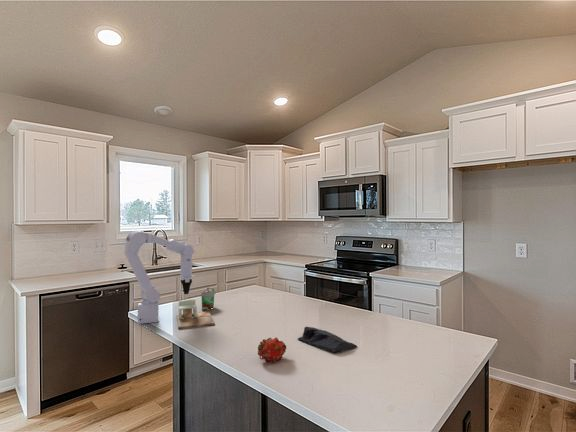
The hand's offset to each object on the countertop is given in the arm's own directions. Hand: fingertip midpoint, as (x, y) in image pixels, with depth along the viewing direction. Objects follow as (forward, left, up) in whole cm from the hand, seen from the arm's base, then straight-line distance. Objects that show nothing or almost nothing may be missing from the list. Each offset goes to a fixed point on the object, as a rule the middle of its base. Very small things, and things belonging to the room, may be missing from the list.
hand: (186, 293), depth 171 cm
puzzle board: (+3, -14, -10) cm, 17 cm away
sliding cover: (0, -9, -9) cm, 12 cm away
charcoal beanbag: (+49, -62, -11) cm, 80 cm away
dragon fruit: (+24, -68, -11) cm, 73 cm away
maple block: (0, -8, -10) cm, 14 cm away
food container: (+13, +6, -11) cm, 18 cm away
